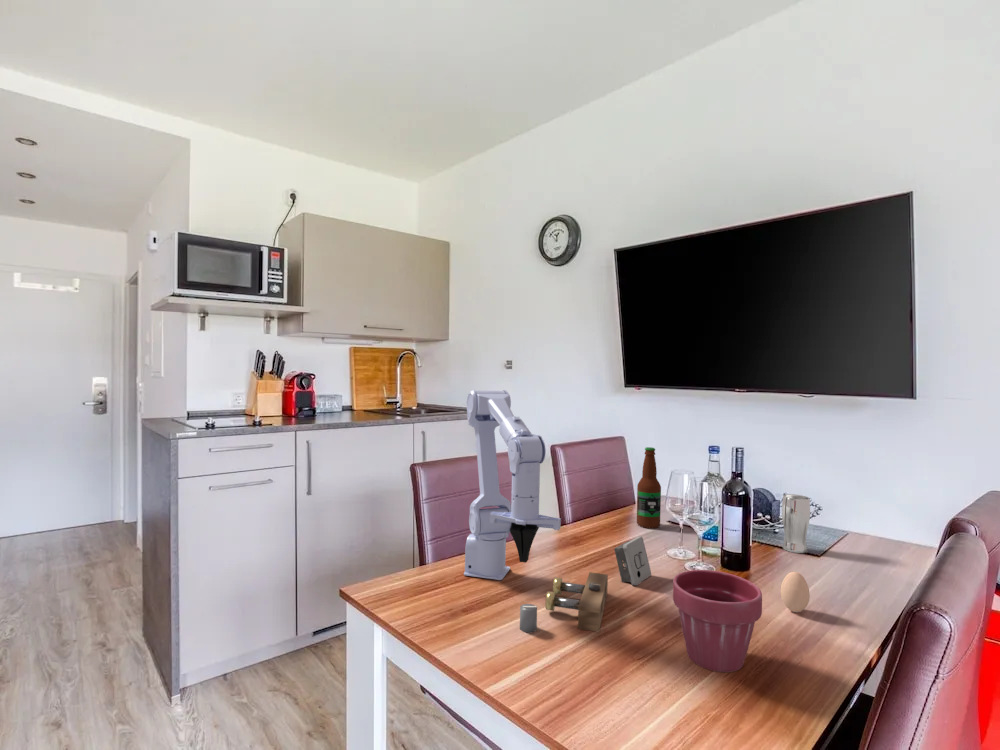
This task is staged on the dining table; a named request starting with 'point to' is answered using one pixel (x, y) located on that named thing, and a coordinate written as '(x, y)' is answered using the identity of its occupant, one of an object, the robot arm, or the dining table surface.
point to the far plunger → (566, 587)
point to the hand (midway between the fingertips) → (523, 560)
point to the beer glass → (795, 522)
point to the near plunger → (560, 602)
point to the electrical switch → (633, 561)
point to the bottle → (649, 493)
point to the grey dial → (528, 618)
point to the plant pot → (716, 617)
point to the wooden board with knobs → (593, 602)
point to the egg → (795, 592)
